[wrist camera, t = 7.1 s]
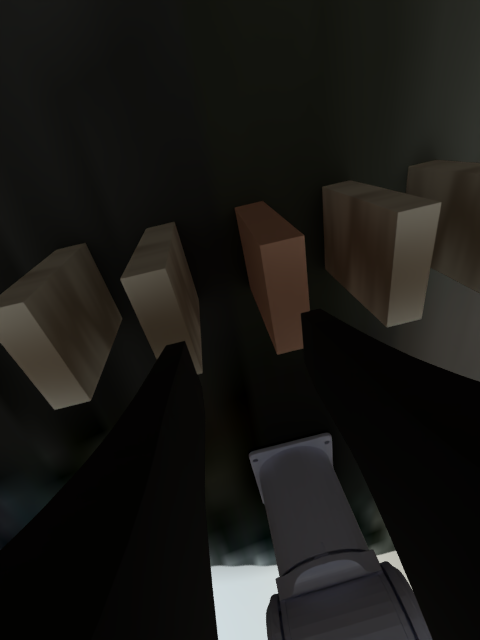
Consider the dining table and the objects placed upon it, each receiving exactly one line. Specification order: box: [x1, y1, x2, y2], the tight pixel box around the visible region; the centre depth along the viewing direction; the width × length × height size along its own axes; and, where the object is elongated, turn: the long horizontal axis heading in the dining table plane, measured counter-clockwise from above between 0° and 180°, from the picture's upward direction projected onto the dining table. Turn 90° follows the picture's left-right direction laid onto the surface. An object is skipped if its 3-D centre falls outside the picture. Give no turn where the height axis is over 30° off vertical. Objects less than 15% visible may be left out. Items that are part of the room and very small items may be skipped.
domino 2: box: [120, 222, 203, 374], centre depth 14 cm, size 5×2×7 cm, turn 11°
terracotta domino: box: [235, 201, 310, 355], centre depth 14 cm, size 5×2×7 cm, turn 11°
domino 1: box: [0, 243, 122, 410], centre depth 14 cm, size 5×2×7 cm, turn 11°
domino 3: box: [322, 180, 442, 327], centre depth 15 cm, size 5×2×7 cm, turn 11°
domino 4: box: [406, 160, 480, 293], centre depth 15 cm, size 5×2×7 cm, turn 11°
